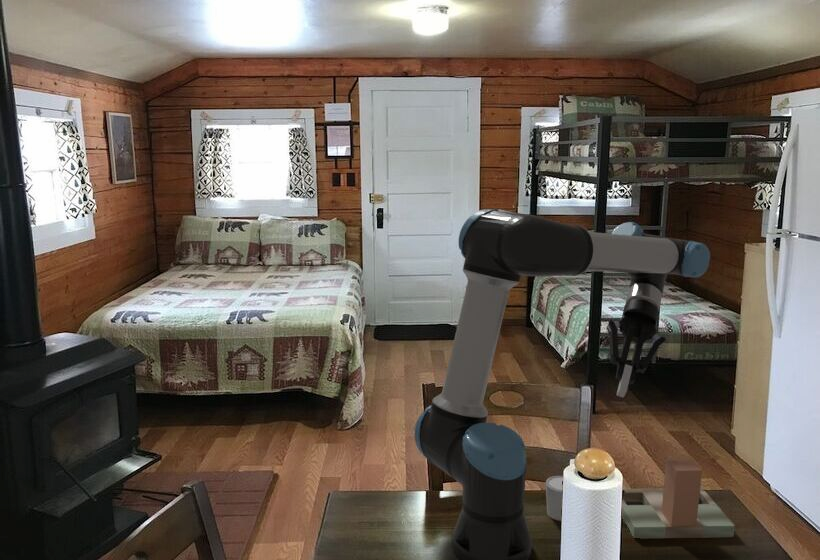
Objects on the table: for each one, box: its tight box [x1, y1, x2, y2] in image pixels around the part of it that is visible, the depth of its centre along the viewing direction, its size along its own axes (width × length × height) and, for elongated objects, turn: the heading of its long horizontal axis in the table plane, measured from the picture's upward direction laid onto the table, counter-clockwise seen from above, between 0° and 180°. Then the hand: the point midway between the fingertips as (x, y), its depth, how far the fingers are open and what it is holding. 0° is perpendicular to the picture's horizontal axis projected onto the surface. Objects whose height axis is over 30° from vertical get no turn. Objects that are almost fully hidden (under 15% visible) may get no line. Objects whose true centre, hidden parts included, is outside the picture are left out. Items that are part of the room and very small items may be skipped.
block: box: [662, 457, 703, 526], centre depth 135 cm, size 5×5×12 cm
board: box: [621, 487, 736, 539], centre depth 141 cm, size 14×20×2 cm
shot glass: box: [545, 475, 563, 522], centre depth 142 cm, size 7×7×7 cm
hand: (621, 393), depth 143 cm, fingers closed
